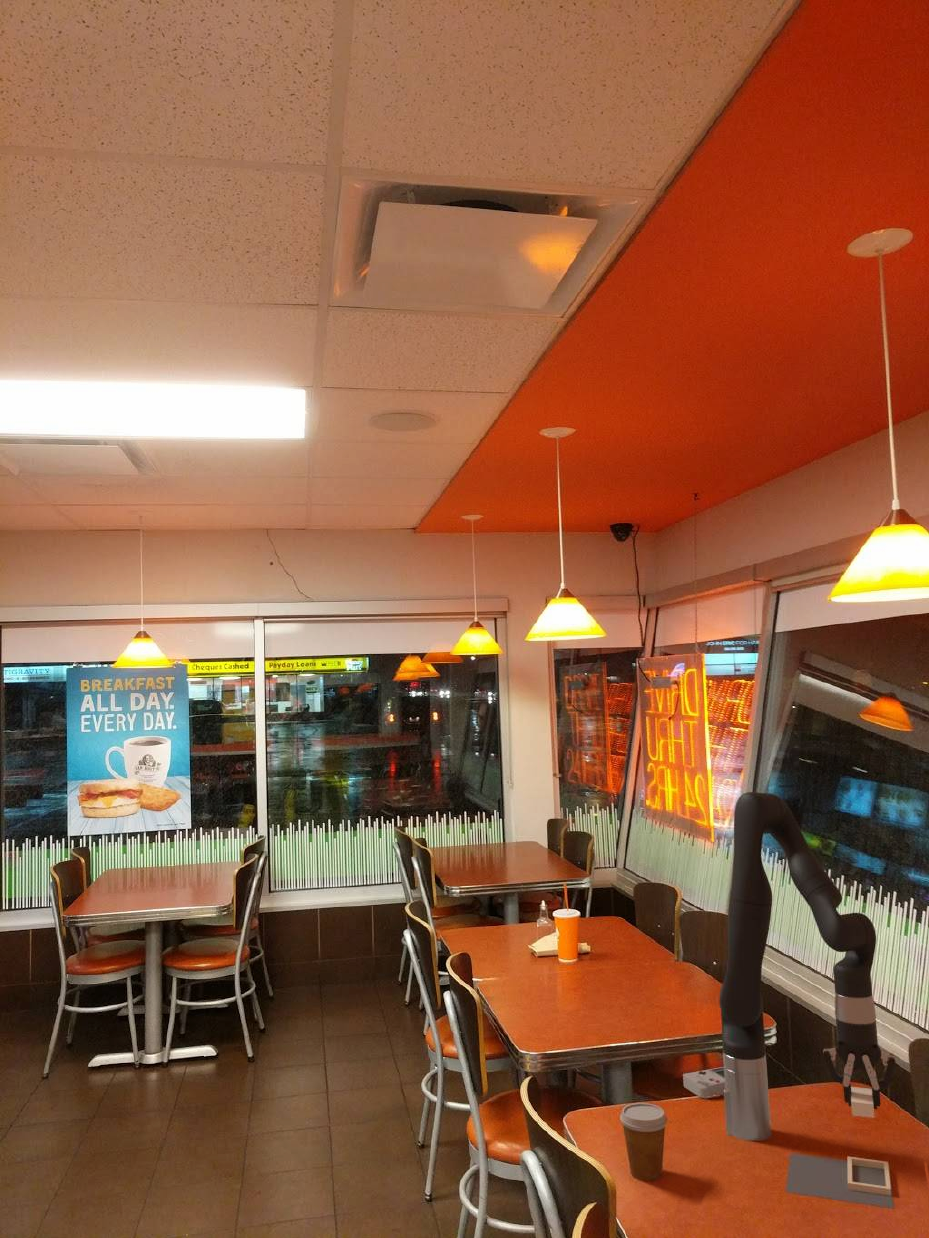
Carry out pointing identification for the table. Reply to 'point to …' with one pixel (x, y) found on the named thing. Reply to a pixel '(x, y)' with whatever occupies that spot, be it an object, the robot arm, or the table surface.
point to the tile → (862, 1102)
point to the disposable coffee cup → (644, 1139)
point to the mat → (841, 1179)
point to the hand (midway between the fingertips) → (862, 1105)
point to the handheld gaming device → (705, 1082)
